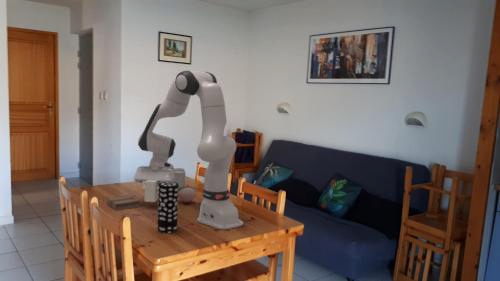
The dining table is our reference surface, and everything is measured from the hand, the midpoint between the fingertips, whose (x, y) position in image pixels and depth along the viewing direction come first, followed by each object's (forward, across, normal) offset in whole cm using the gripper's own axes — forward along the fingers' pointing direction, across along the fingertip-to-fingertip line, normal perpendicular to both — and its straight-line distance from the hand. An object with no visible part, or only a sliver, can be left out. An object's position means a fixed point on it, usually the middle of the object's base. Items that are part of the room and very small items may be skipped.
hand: (151, 190), depth 201 cm
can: (-24, +2, +37) cm, 44 cm away
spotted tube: (+26, +17, -13) cm, 34 cm away
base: (+6, -14, +7) cm, 17 cm away
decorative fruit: (-3, +15, +16) cm, 22 cm away
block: (+3, 0, +4) cm, 5 cm away
